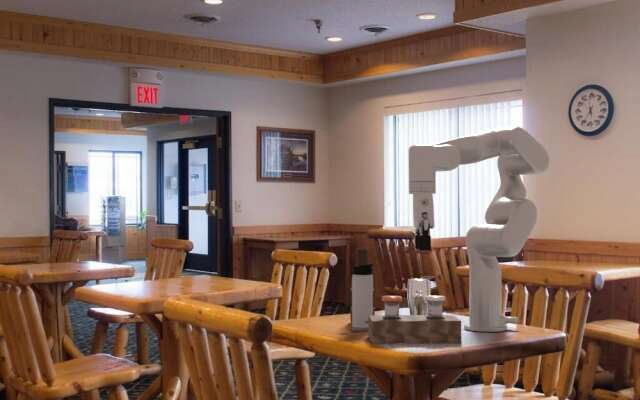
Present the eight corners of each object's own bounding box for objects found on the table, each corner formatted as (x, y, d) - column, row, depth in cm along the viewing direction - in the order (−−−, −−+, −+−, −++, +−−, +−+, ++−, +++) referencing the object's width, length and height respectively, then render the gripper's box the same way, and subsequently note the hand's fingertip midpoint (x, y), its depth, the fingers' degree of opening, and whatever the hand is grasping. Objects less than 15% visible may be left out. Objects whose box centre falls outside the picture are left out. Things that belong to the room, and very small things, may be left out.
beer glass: (434, 328, 230) (433, 279, 231) (425, 331, 224) (425, 280, 225) (412, 326, 234) (412, 278, 234) (403, 329, 228) (403, 279, 228)
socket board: (452, 336, 216) (452, 315, 216) (461, 343, 204) (461, 320, 204) (368, 336, 215) (368, 315, 215) (372, 343, 203) (372, 321, 203)
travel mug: (372, 331, 224) (372, 264, 224) (350, 331, 225) (350, 263, 226) (375, 328, 230) (375, 262, 231) (353, 328, 232) (353, 262, 232)
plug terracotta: (400, 324, 212) (400, 295, 213) (403, 327, 207) (403, 297, 207) (380, 325, 212) (380, 295, 212) (382, 327, 207) (382, 297, 207)
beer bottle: (373, 324, 238) (373, 248, 239) (348, 324, 240) (348, 248, 240) (375, 321, 246) (375, 247, 247) (351, 320, 247) (351, 247, 248)
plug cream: (443, 324, 213) (443, 295, 213) (447, 327, 207) (447, 297, 207) (423, 324, 213) (423, 295, 213) (426, 327, 207) (426, 297, 207)
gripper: (440, 187, 204) (440, 251, 204) (431, 189, 221) (432, 248, 221) (412, 187, 204) (412, 251, 204) (405, 189, 221) (406, 248, 221)
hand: (422, 249), depth 212 cm, fingers open, 9 cm apart
